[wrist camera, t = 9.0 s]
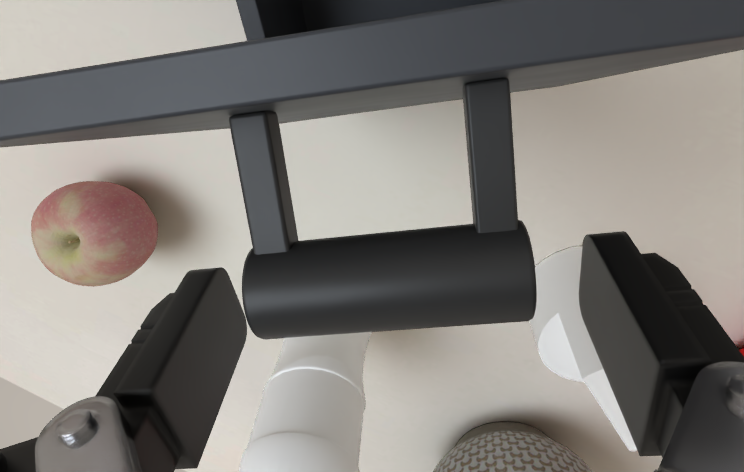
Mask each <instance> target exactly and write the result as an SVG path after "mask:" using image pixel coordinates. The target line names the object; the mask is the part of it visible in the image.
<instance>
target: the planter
mask: <svg viewBox="0 0 744 472" xmlns="http://www.w3.org/2000/svg"><path fill="white" fill-rule="evenodd" d="M433 472H593V471H592V470H591V469H590V468H589V466H588V465H587V464H586V463H585V462H584V461H583V460H582V459H581V458H580V457H578V456H577V455H576V454H575V453H573V452H572V451H570V450H569V449H568V448H566V447H565V446H563V445H562V444H560V443H558V442H556V441H554V440H552V439H549V438H548V436H546V435H545V434H544V433H543V432H541V431H540V430H538V429H536V428H534V427H532V426H529V425H526V424H522V423H517V422H494V423H489V424H485V425H481V426H479V427H477V428H474V429H472V430H471V431H469V432H468V433H466V434H465V435H464V436H463V437H462V438H461V439H460V440H459V442H458V443H457V445H456V447H454V448H453V449H452V450H450V451H449V452H448V453H447V454H446V455H445V456H444V457H443V458H442V459H441V461H440V462H439V463H438V465H437V466H436V468H435V469H434V471H433Z"/></svg>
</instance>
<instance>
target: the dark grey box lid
mask: <svg viewBox="0 0 744 472" xmlns="http://www.w3.org/2000/svg"><path fill="white" fill-rule="evenodd" d="M739 50H744V0H501V1H495V2H489V3H483V4H476V5H470V6H464V7H458V8H451V9H445V10H439V11H433V12H426V13H420V14H414V15H408V16H401V17H395V18H389V19H383V20H376V21H370V22H364V23H357V24H351V25H345V26H339V27H332V28H326V29H320V30H314V31H307V32H301V33H295V34H289V35H282V36H276V37H270V38H264V39H257V40H251V41H245V42H238V43H232V44H226V45H220V46H213V47H207V48H201V49H195V50H188V51H182V52H176V53H170V54H163V55H157V56H151V57H145V58H138V59H132V60H126V61H119V62H113V63H107V64H101V65H94V66H88V67H82V68H76V69H69V70H63V71H57V72H51V73H44V74H38V75H32V76H26V77H19V78H13V79H7V80H0V147H10V146H22V145H34V144H46V143H58V142H70V141H82V140H94V139H106V138H118V137H130V136H142V135H154V134H166V133H178V132H190V131H202V130H214V129H226V128H230V129H231V134H232V139H233V145H234V150H235V155H236V160H237V166H238V171H239V176H240V182H241V187H242V192H243V198H244V203H245V208H246V213H247V219H248V224H249V229H250V235H251V240H252V245H253V248H252V249H251V250H250V252H249V253H248V255H247V257H246V260H245V264H244V269H243V276H242V297H243V305H244V310H245V315H246V318H247V321H248V324H249V326H250V328H251V330H252V332H253V333H254V334H255V335H256V336H257V337H259V338H262V339H277V338H291V337H306V336H320V335H334V334H349V333H363V332H377V331H392V330H406V329H420V328H435V327H449V326H463V325H478V324H492V323H506V322H521V321H529V320H531V319H533V317H534V314H535V310H536V302H537V288H536V274H535V265H534V258H533V252H532V247H531V242H530V238H529V235H528V232H527V229H526V227H525V225H524V223H523V222H522V221H520V220H518V214H517V198H516V182H515V165H514V149H513V133H512V117H511V100H510V93H511V92H519V91H526V90H534V89H541V88H549V87H556V86H562V85H567V84H572V83H577V82H582V81H587V80H592V79H597V78H602V77H607V76H612V75H617V74H623V73H628V72H633V71H638V70H643V69H648V68H653V67H658V66H663V65H668V64H673V63H678V62H683V61H688V60H693V59H698V58H703V57H708V56H713V55H718V54H723V53H729V52H734V51H739ZM459 99H463V103H464V115H465V127H466V139H467V151H468V163H469V176H470V188H471V200H472V212H473V224H467V225H457V226H447V227H437V228H427V229H417V230H406V231H396V232H386V233H376V234H366V235H355V236H345V237H335V238H325V239H315V240H304V241H298V236H297V230H296V224H295V218H294V212H293V206H292V200H291V194H290V188H289V182H288V176H287V170H286V164H285V158H284V152H283V146H282V140H281V134H280V128H279V123H287V122H294V121H302V120H309V119H317V118H324V117H332V116H339V115H347V114H354V113H362V112H369V111H377V110H384V109H392V108H399V107H406V106H414V105H421V104H429V103H436V102H444V101H451V100H459Z"/></svg>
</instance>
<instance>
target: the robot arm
mask: <svg viewBox="0 0 744 472" xmlns="http://www.w3.org/2000/svg"><path fill="white" fill-rule="evenodd" d="M579 305H580V311H581V315H582V318H583V321H584V324H585V326H586V328H587V331H588V333H589V336H590V338H591V340H592V343H593V345H594V347H595V350H596V352H597V355H598V357H599V359H600V362H601V364H602V367H603V369H604V371H605V374H606V376H607V379H608V381H609V383H610V386H611V388H612V391H613V393H614V395H615V398H616V400H617V403H618V405H619V407H620V410H621V412H622V415H623V417H624V419H625V422H626V424H627V427H628V429H629V431H630V434H631V436H632V439H633V441H634V443H635V446H636V448H637V451H638V453H639V455H640V456H660V455H662V457H663V459H662V461H661V464H660V466H659V468H658V470H655V471H654V472H744V356H743V355H742V354H741V352H740V351H739V350H738V348H737V347H736V345H735V344H734V343H733V341H732V340H731V339H730V337H729V336H728V335H727V333H726V332H725V331H724V329H723V328H722V327H721V325H720V324H719V323H718V321H717V320H716V318H715V317H714V316H713V314H712V313H711V312H710V310H709V309H708V308H707V306H706V305H703V303H702V300H701V298H700V297H699V296H698V294H697V293H696V292H695V290H694V289H691V285H690V283H689V282H688V281H687V279H686V278H685V277H684V275H683V274H682V273H681V271H680V270H679V269H678V267H676V266H675V265H673V264H671V263H670V262H668V261H667V260H665V259H664V258H662V257H661V256H659V255H658V254H656V253H649V254H641V253H640V252H639V250H638V249H637V247H636V246H635V244H634V243H633V241H632V240H631V238H630V237H629V235H628V234H627V233H626V232H624V231H623V232H612V233H601V234H590V235H586V236H585V237H584V240H583V247H582V259H581V271H580V282H579ZM246 335H247V325H246V319H245V315H244V313H243V310H242V308H241V305H240V303H239V300H238V298H237V295H236V293H235V290H234V288H233V285H232V283H231V280H230V278H229V275H228V273H227V271H226V270H225V269H224V268H211V269H200V270H191V271H189V272H188V273H187V274H186V275H185V277H184V278H183V280H182V282H181V283H180V285H179V287H178V288H177V290H176V291H175V293H170V294H169V295H167V296H166V297H165V298H164V299H163V300H162V301H161V302H159V303H158V304H157V305H156V306H155V307H154V308H153V309H152V310H151V311H150V313H149V314H148V316H147V317H146V319H145V320H144V322H143V323H142V325H141V330H138V331H137V333H136V334H135V336H134V337H133V339H132V340H131V341H132V344H129V345H128V347H127V348H126V350H125V351H124V353H123V354H122V356H121V357H120V359H119V361H118V362H117V364H116V365H115V367H114V368H113V370H112V371H111V373H110V375H109V376H108V378H107V379H106V381H105V382H104V384H103V385H102V387H101V388H100V390H99V392H98V393H97V395H96V396H95V397H90V398H86V399H83V400H81V401H78V402H76V403H74V404H72V405H70V406H69V407H67V408H65V409H64V410H63V411H61V412H60V413H59V414H57V415H56V416H55V417H54V418H53V419H52V420H51V421H50V422H49V423H48V424H47V425H46V426H45V427H44V429H43V430H42V432H41V433H40V435H39V437H37V438H34V439H31V440H28V441H25V442H22V443H18V444H15V445H12V446H9V447H6V448H3V449H0V472H174V470H175V469H187V468H197V467H198V464H199V462H200V459H201V456H202V454H203V451H204V449H205V446H206V443H207V441H208V438H209V436H210V433H211V430H212V428H213V425H214V422H215V420H216V417H217V415H218V412H219V409H220V407H221V404H222V402H223V399H224V396H225V394H226V391H227V388H228V386H229V383H230V381H231V378H232V375H233V373H234V370H235V368H236V365H237V362H238V360H239V357H240V354H241V352H242V349H243V347H244V344H245V341H246Z"/></svg>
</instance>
